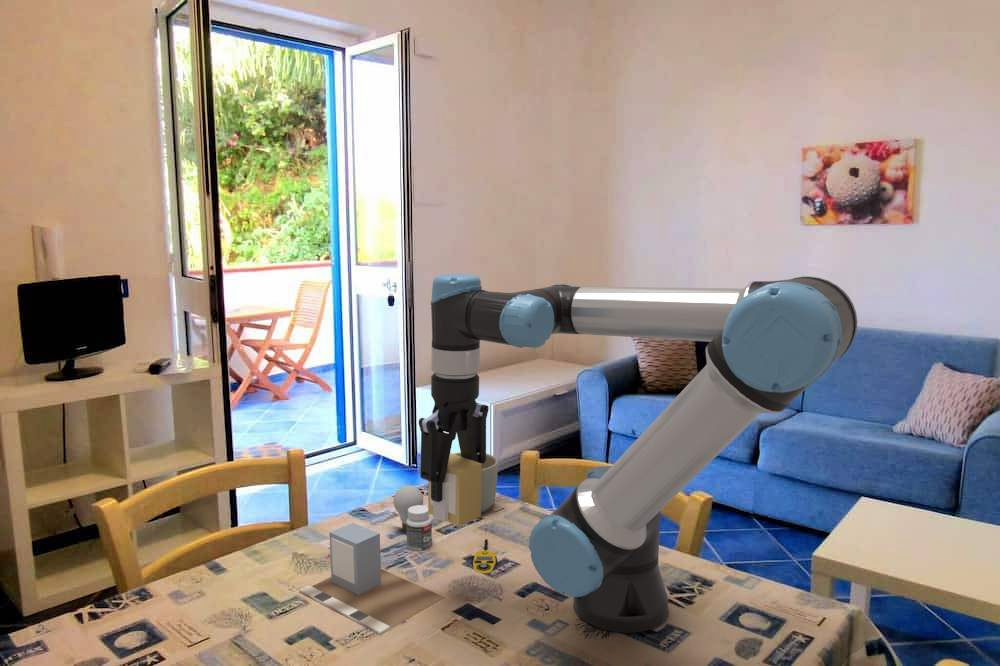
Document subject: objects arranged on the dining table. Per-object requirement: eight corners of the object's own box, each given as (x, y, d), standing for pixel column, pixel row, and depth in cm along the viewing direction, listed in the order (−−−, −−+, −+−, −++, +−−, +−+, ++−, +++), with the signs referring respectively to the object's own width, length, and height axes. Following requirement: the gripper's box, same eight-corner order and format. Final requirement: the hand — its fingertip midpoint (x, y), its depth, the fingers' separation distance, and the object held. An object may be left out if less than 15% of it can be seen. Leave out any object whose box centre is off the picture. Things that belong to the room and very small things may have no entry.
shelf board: (444, 603, 121) (444, 594, 121) (380, 642, 110) (380, 631, 110) (364, 567, 133) (364, 558, 133) (299, 598, 123) (299, 589, 123)
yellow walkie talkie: (469, 571, 129) (474, 534, 144) (469, 581, 129) (474, 543, 144) (496, 571, 129) (498, 534, 143) (496, 582, 129) (498, 543, 144)
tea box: (450, 504, 124) (450, 452, 122) (480, 516, 119) (481, 463, 117) (427, 513, 120) (427, 460, 118) (458, 526, 115) (458, 472, 114)
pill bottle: (427, 557, 137) (427, 515, 136) (403, 555, 138) (402, 513, 137) (435, 546, 142) (434, 505, 140) (411, 544, 143) (410, 503, 141)
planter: (474, 493, 168) (473, 448, 167) (509, 510, 159) (509, 461, 157) (429, 507, 161) (428, 459, 159) (464, 525, 151) (463, 475, 149)
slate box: (354, 571, 130) (352, 522, 128) (381, 583, 125) (379, 533, 124) (330, 582, 126) (328, 532, 124) (357, 595, 121) (355, 544, 120)
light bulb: (392, 529, 149) (390, 482, 148) (420, 526, 151) (419, 479, 149) (397, 542, 144) (395, 493, 142) (426, 538, 146) (425, 489, 144)
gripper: (477, 360, 124) (475, 491, 129) (394, 378, 111) (395, 523, 115) (511, 368, 120) (507, 503, 124) (429, 387, 106) (428, 538, 110)
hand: (453, 512), depth 119 cm, fingers closed on tea box, 5 cm apart
